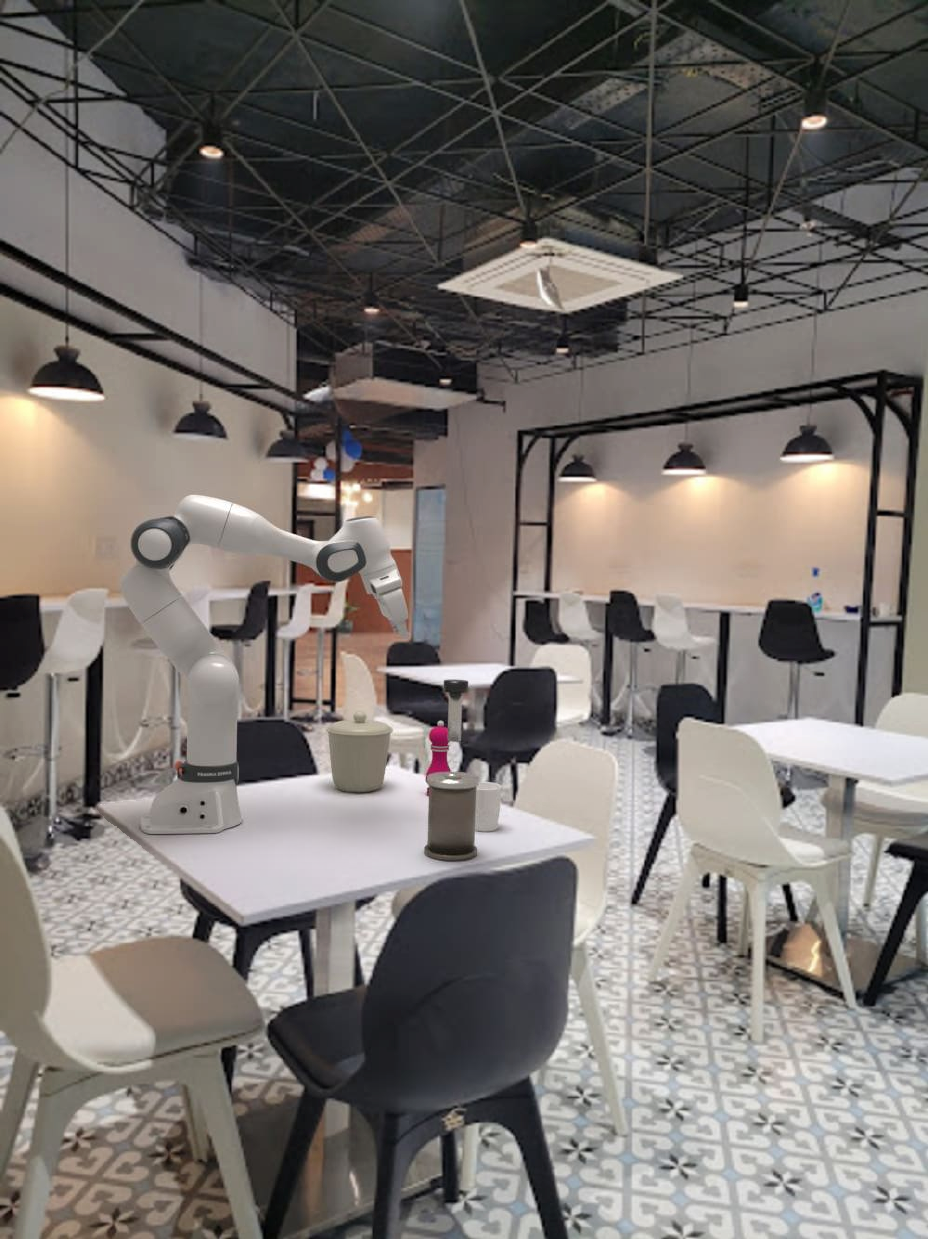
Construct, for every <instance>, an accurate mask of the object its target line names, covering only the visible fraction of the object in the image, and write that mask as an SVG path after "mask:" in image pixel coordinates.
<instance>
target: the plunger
mask: <svg viewBox="0 0 928 1239" xmlns="http://www.w3.org/2000/svg"><path fill="white" fill-rule="evenodd" d="M443 692H444V693H448V711H447V712H448V714H447V728H448V741H450V742H454V743H455V742H457V743H458V742H461V741H462V719H463V718H462V715H463V714H462V713H463V712H462V711H463V694H466V693H468V692H469V680H465V679H456V678H455V679H444V680H443Z"/></svg>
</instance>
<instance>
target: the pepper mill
mask: <svg viewBox="0 0 928 1239" xmlns="http://www.w3.org/2000/svg"><path fill="white" fill-rule="evenodd" d="M428 739H429V741H430V743H431V744H430V750H431V752H432V753H431V754H432V755H431V762H430V764H429V767H428V769H427V770H426V774H425V782H426V784H427V776H428V775H429V774H432V773H437V772H452V770H451V768H450V765H449V762H448V752H449V751H450V744H449V743H450V742H451V741H448V727H446V726H445V723H444V721H443V720H439V721H437V726H435V727H433V728H432V729H430V731H429V734H428ZM426 795H427V797H429V786H427V788H426Z"/></svg>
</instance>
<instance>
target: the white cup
mask: <svg viewBox="0 0 928 1239" xmlns="http://www.w3.org/2000/svg"><path fill="white" fill-rule="evenodd" d="M501 800H502V785H501V784H499V783H496V782H492V781H491V782H490V781H479V785H478V786H476V815H475V832H487V833H488V832H493V831H494V832H495V831H496V830H498V828H499V818H500V812H501Z"/></svg>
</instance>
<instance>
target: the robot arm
mask: <svg viewBox="0 0 928 1239" xmlns="http://www.w3.org/2000/svg"><path fill="white" fill-rule="evenodd" d="M193 544H194V545H195V544H198V545H204V546H207V547H211V548H213V549H216V550H219V551H223V552H226V553H231V554H235V555H236V554H237V555H244V556H254V555H256V556H257V555H269V556H270V555H271V556H276V557H279V558H283V559H286V560H289V561H292V562H294V563H295V562H296V563H299V564H301V565H304V566H306V567H308V568H310V569H311V570H312V571H313V572H314V573H315V574H316V575H318V576H319V577H320V578H321V579H324V580H326V581H327V582H331V583H341V582H344V581H346V580H349V579H350V578H351V577H352V576H354V575H356V574H357V573H358V574H360V578H361V581H362V583H363V586H364V589H365V591H366V594H367V595H373V597H374V598H373V599H375V600H376V602H377V604H378V607H379V610H380V613H381V614H382V616H384V617H385V618H387V620H388V621H389V623H390V625H391V627H392V630H393V633H394V634H396V635H398V634H399V636H400V638H401V639H407V638H409V636H410V633H409V632H408V628H407V627H408V626H407V622H406V620H408V619H409V611H408V606H407V602H406V600H405V596H404V593H403V589H402V587H403V585H404V583H403V579H402V577H401V574H400V571H399V568H398V565H397V563H396V560H395V559H394V558H393V556H392V554H391V546H390V543H389V540H388V538H387V535H386V532H385V530H384V528H383V526H382V525H381V522H380V521H379V520H378V519H377V518H375V517H374V516H371V515H366V516H365V515H364V516H358V517H352V518H348V519H347V520H345V522H344V523H343V525H342V526H341V528H340V529H339V530H338V531H337V532H336V533H335V534H334V535H333V536H332V537H331V538H330V539H323V540H314V539H310V538H307V537H303V536H302V535H298V534H294V533H291V532H288V531H286V530H283V529H281V528H279V527H277V526H275V525H274V524H272V522H270V521H269V520H267V519H266V518H265V517H263V516H262V515H261V514H259V513H257V512H256V511H253V510H251V509H249V508H247V507H245V506H242V505H240V504H238V503H234V502H231V501H227V500H224V499H220V498H216V497H212V496H207V495H202V494H201V495H199V494H190V495H186V496H184V498H182V499H181V501H180V502H179V503H178V505H177V506H176V509H175V512H174V514H173V515H169V516H163V517H155V518H149V519H147V520H145V521H144V522H142V523H140V524H139V525H137V526H136V527H135V529H134V530H133V532H132V534H131V538H130V551H131V554H132V555H133V556H134V558H135V559H136V562H135V564H134V565H133V566H132V567H131V568H129V569H128V570H127V571H125V573H123V576H122V577H121V579H120V581H119V590H120V593H121V594H122V597H123V598H124V601H125V602H126V605H127V606H128V608H129V609H130V611H131V613H132V614H133V616H134V617H135V619H136V620H137V621H138V622H139V624H140V625H141V627H142V628H143V629H144V630H145V632H146V633H147V635H148V636H149V637H150V638H151V640H152V641H153V642H154V644H155V645H156V646H157V648H158V649H159V650H160V651H161V653H162V654H163V655H164V656H165V658H167V660H168V661H169V662H170V663H171V664H172V665H173V667H174V668H175V670H176V671H177V672H178V673H179V674H180V676H182V677H183V679H184V680H185V682H186V683H187V721H186V722H187V723H186V724H187V726H186V729H187V730H186V761H185V762H184V761H183V762H182V761H180V760H177V761H176V762H175V763H174V765H173V766H174V769H175V771H176V776H177V778H176V779H175V780H174V781H173V782H171V783H170V784H169V785H168V786H166V787H164V788H163V789H161V791H159V792H158V793H156V795H155V796H154V798H153V799H152V803H151V806H150V812H149V814H146V815H144V816H142V817H141V819H140V821H139V828H140V830H141V831H142V832H143V833H146V834H149V835H168V834H169V835H174V834H175V835H176V834H177V835H179V834H185V835H186V834H217V833H218V834H219V833H220V832H222V831H224V830H227V829H229V828H232V827H236V826H237V825H239V824H240V825H241V823H243V817H242V814H241V813H242V812H241V810H240V804H239V797H238V785H239V784H238V783H239V774H240V773H239V772H240V771H239V761H238V759H237V749H238V748H237V746H238V745H237V744H238V741H237V740H238V738H237V734H238V717H239V716H238V714H239V699H240V698H239V697H240V696H239V695H240V676H239V673H238V670H237V668H236V666H235V663H234V662H233V661H232V659H231V658H230V656H229V655H228V654H227V653H226V651H225V650H224V649H223V647H222V646H221V645H220V644H219V642H218V641H217V639H216V638H215V637H214V635H213V634H212V633H211V632H210V631H209V629H208V628H207V626H205V624H204V622H203V621H202V620H201V618H200V617H199V616H198V615H197V613H196V611H194V609H193V608H192V606H191V605H190V604H189V602H188V601H187V600H186V598H185V597H184V596H183V594H182V593H181V592H180V591H179V589H178V588H177V587H176V585H175V584H174V582H173V580H172V579H171V576H170V571H171V570H172V569H173V567H174V566H175V565H176V564H177V562H179V561H180V560H181V558H182V557H183V554H184V552H185V549H187V547H189V546H191V545H193Z"/></svg>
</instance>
